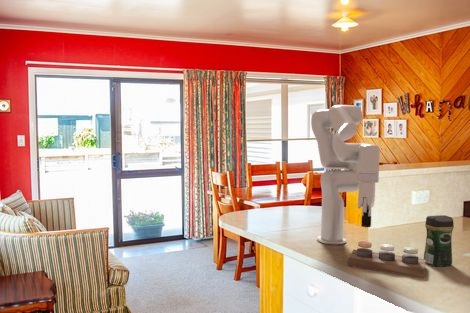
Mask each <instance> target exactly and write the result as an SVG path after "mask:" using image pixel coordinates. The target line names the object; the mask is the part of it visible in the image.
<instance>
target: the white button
mask: <svg viewBox="0 0 470 313" xmlns="http://www.w3.org/2000/svg"><path fill="white" fill-rule="evenodd" d="M379 248H380V250H381V251H388V252H393V251H395V246H394V244H393V245H392V244H388V243H382V244H380V247H379Z"/></svg>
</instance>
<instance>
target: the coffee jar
mask: <svg viewBox="0 0 470 313" xmlns="http://www.w3.org/2000/svg"><path fill="white" fill-rule="evenodd" d="M454 224H455V223H454V219H453V217H452V216H449V215H445V214H443V215H441V214H440V215H439V214H438V215H437V214H436V215H427V216H426V218H425V224H424V225H425V228H426V239H425V246H424V253H423V259H425V264H426V265H429V266H433V267H446V266H452V264H453V252H452V251H453V250H452V248H453V246H452V234H453V231H454V228H455V227H454Z"/></svg>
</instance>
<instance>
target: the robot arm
mask: <svg viewBox="0 0 470 313" xmlns="http://www.w3.org/2000/svg"><path fill="white" fill-rule="evenodd" d="M362 120H363V111H362V109H361V107H360V106H358V105H349V104H337V105H336V104H335V105H333V106H331V107H330V108H324V109H318V110H315V111H314V112H313V113H312V115H311V120H310V121H311V122H310V123H311V125H310V126H311V129H312V132H313V134H314V137H315V140H316V141H317V143H316V144H317V148H318V154H319V159H320V163H321V166H322V168H324V169H326V170H325V171H324V172H323V173H322V174H321V175H320V186H321V197H322V198H321V220H320V222H321V224H320V235H318V236H317V237H316V238H317V239H316V240H317V241H318V242H320V243H322V244H326V245H334V246H335V245H344V244H345V243H346V242H347V238H346V237H344V218H345V217H344V214H345V212H344V211H345V202H344V201H345V200H344V199H343V197H342V196H341V195H340V193H346V192H347V193H348V192H349V193H351V192H353V193H354V192H357V191H358V194H357V195H358V196H357V209H361V227H363V228H370V227H372V209H373V207H374V206H375V202H376V201H375V197H376V184H377V183H379V179H380V178H379V176H380V157H381V156H380V152H381V151H380V150H381V149H380V146H379V145H377V144H370V143H365V142H360V143H359V142H345V141H348V140H349V139H352V138H354V136H355V135H356V134H357V131H358V127H357V126H358V125H360V123H362ZM329 129H333V130H335V133H334V134H333V132H331V130H329Z"/></svg>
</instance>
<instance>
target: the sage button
mask: <svg viewBox="0 0 470 313" xmlns="http://www.w3.org/2000/svg"><path fill="white" fill-rule="evenodd" d="M418 252H419V250H418V249H417V248H415V247H413V246H412V247H411V246H404V247H403V253H404V254H410V255H418Z"/></svg>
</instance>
